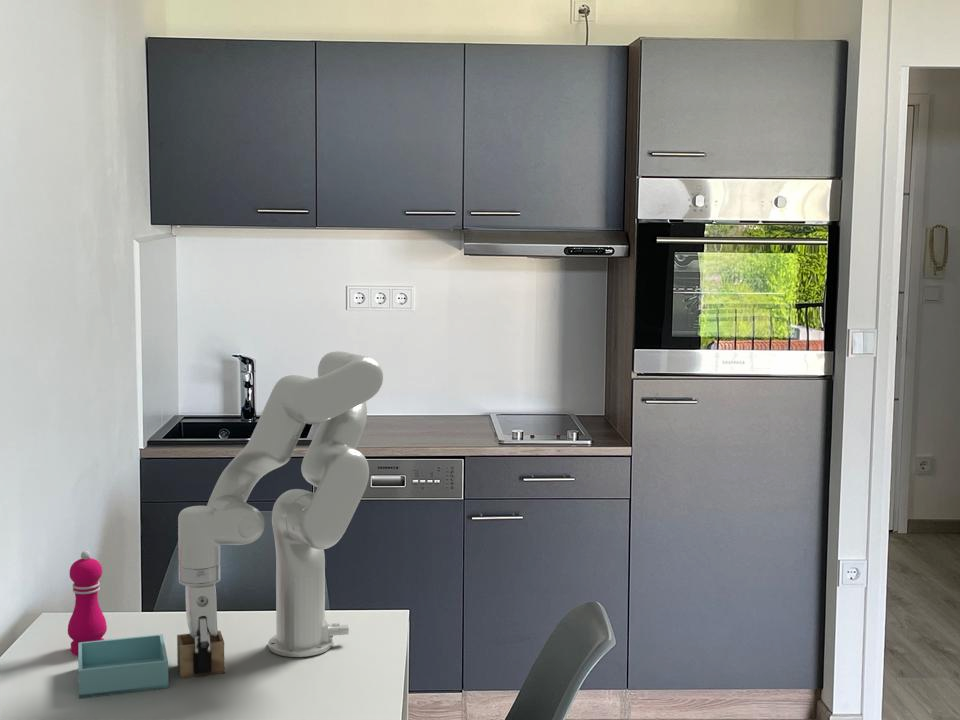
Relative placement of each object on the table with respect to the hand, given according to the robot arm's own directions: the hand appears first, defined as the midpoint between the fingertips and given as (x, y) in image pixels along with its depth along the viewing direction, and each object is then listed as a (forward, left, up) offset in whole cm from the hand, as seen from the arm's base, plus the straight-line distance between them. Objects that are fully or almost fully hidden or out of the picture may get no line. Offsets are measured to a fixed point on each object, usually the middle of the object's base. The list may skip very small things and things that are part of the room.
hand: (200, 664), depth 210 cm
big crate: (+14, 0, -1) cm, 14 cm away
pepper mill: (+20, -16, -1) cm, 26 cm away
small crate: (0, 0, -1) cm, 1 cm away
